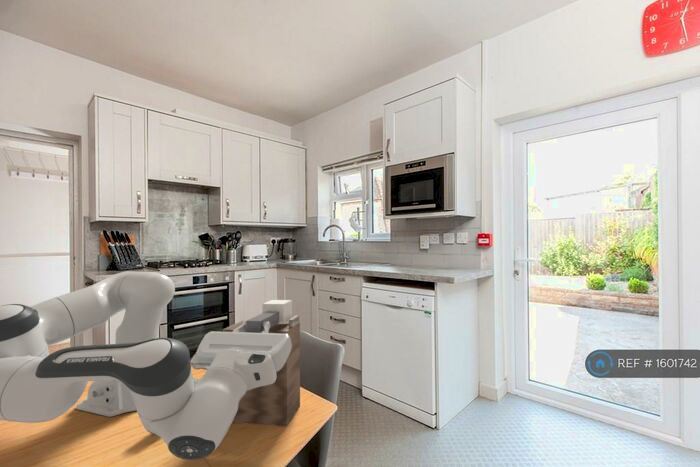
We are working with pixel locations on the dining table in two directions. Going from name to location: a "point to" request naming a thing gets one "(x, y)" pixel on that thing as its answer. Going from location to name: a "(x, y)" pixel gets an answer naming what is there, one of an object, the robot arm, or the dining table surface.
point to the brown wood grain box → (275, 385)
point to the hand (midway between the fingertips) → (257, 323)
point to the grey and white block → (270, 315)
